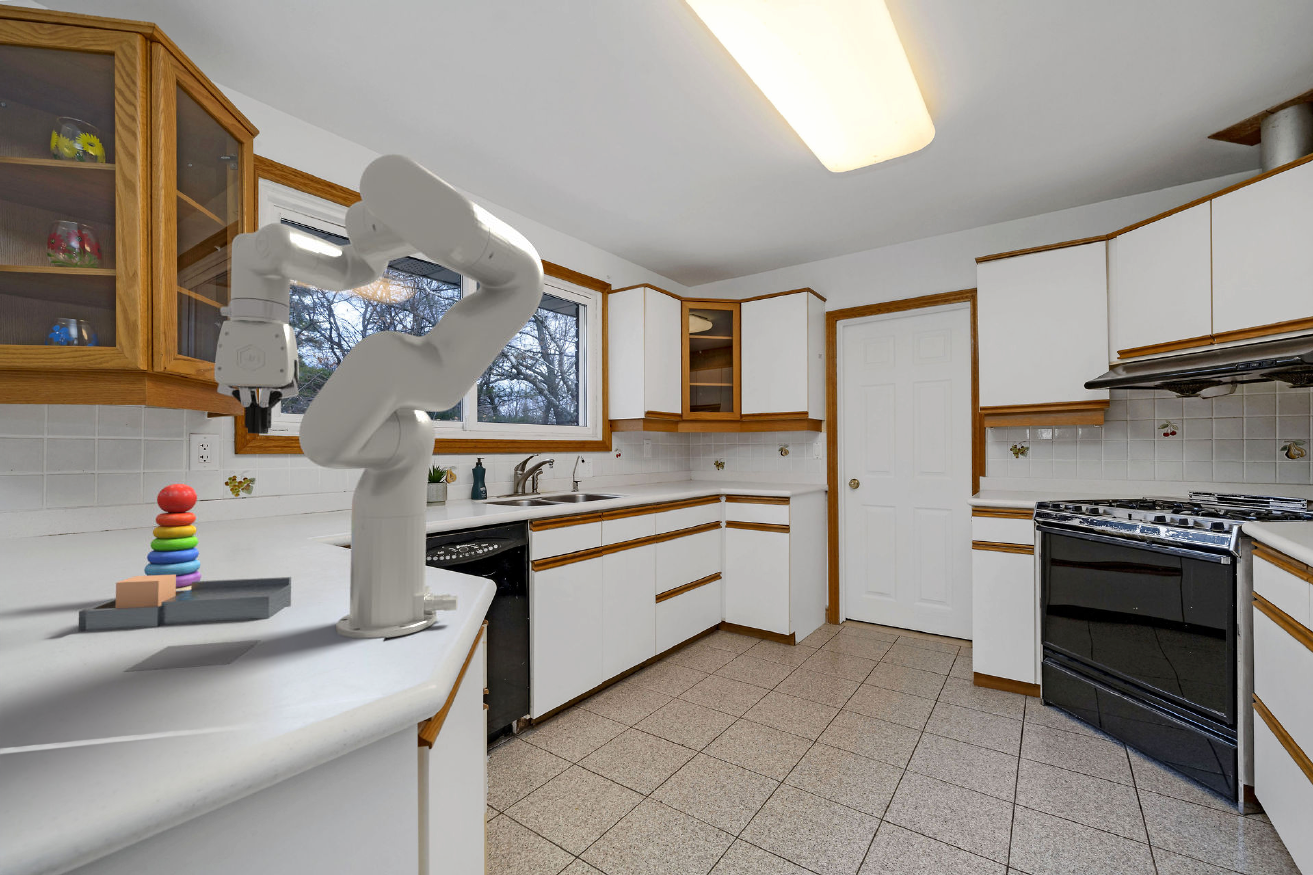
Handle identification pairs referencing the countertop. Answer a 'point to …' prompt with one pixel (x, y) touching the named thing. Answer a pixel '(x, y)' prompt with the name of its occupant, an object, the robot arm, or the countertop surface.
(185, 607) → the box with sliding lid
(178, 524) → the stacking toy
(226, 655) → the mat
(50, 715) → the countertop surface
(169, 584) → the tan cardboard box
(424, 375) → the robot arm
